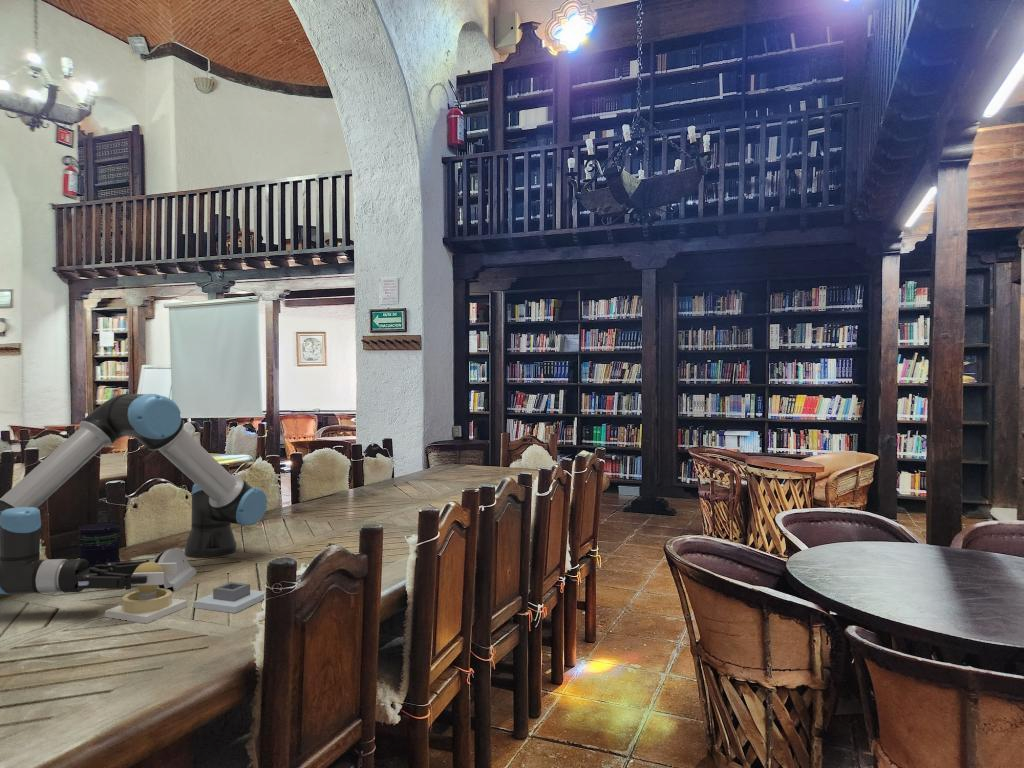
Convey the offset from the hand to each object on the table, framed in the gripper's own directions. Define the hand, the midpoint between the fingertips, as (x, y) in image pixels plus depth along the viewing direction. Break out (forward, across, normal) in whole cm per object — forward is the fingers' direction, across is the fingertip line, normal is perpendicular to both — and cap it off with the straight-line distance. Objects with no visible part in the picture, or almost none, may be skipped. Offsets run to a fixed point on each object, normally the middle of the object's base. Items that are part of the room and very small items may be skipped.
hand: (169, 573), depth 154 cm
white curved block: (-8, -24, -9) cm, 27 cm away
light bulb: (-5, 0, -8) cm, 9 cm away
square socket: (+13, -5, -9) cm, 17 cm away
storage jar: (-28, -27, -9) cm, 40 cm away
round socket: (-5, 0, -9) cm, 10 cm away
